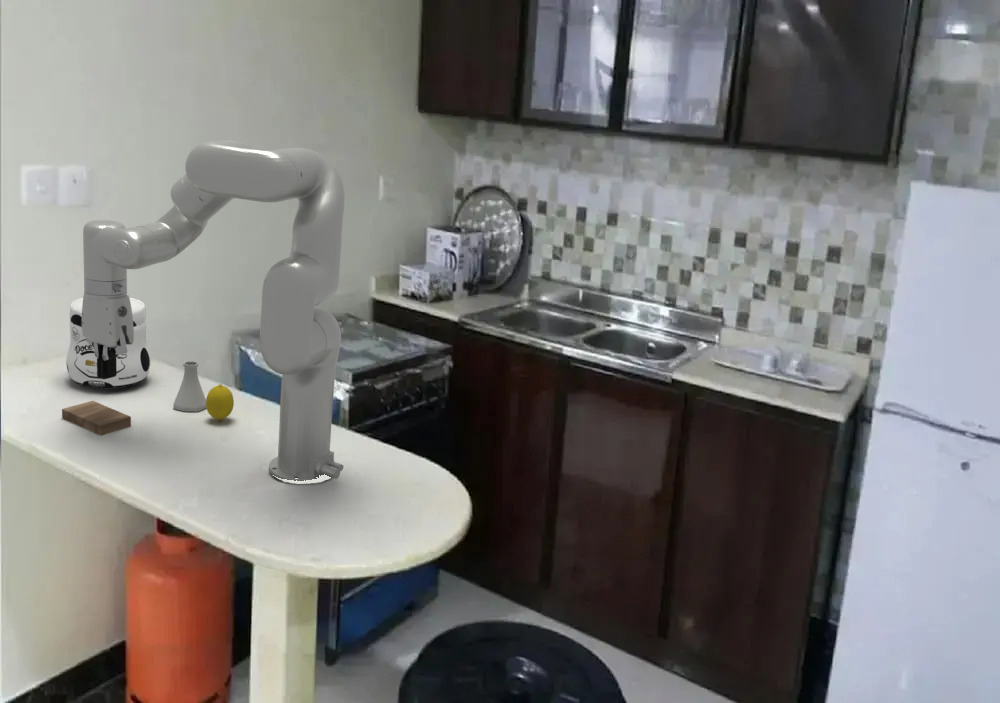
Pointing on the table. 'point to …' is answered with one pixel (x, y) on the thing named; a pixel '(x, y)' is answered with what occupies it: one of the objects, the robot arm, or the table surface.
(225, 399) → the lemon
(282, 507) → the table surface
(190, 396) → the flask
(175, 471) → the table surface
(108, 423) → the walnut slab
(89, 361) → the milk container
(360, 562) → the table surface
